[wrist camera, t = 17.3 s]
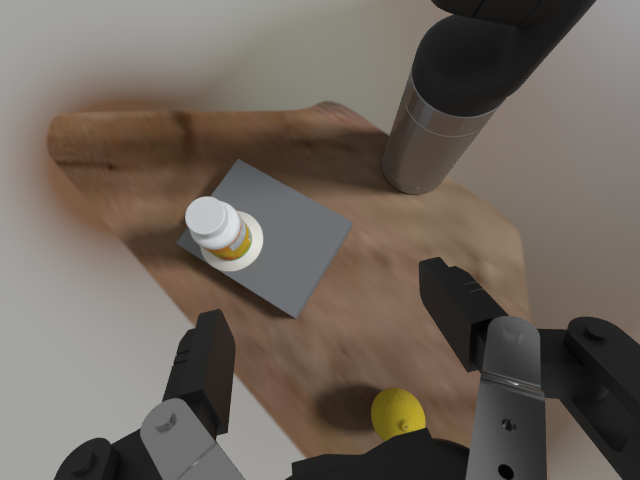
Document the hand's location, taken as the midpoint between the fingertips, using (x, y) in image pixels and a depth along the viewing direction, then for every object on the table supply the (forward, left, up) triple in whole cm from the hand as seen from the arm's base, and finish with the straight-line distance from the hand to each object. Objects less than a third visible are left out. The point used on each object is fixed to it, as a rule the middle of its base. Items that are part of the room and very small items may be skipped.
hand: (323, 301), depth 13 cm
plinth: (-5, -12, -30) cm, 33 cm away
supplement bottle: (-2, -15, -27) cm, 31 cm away
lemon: (+5, +12, -30) cm, 32 cm away
